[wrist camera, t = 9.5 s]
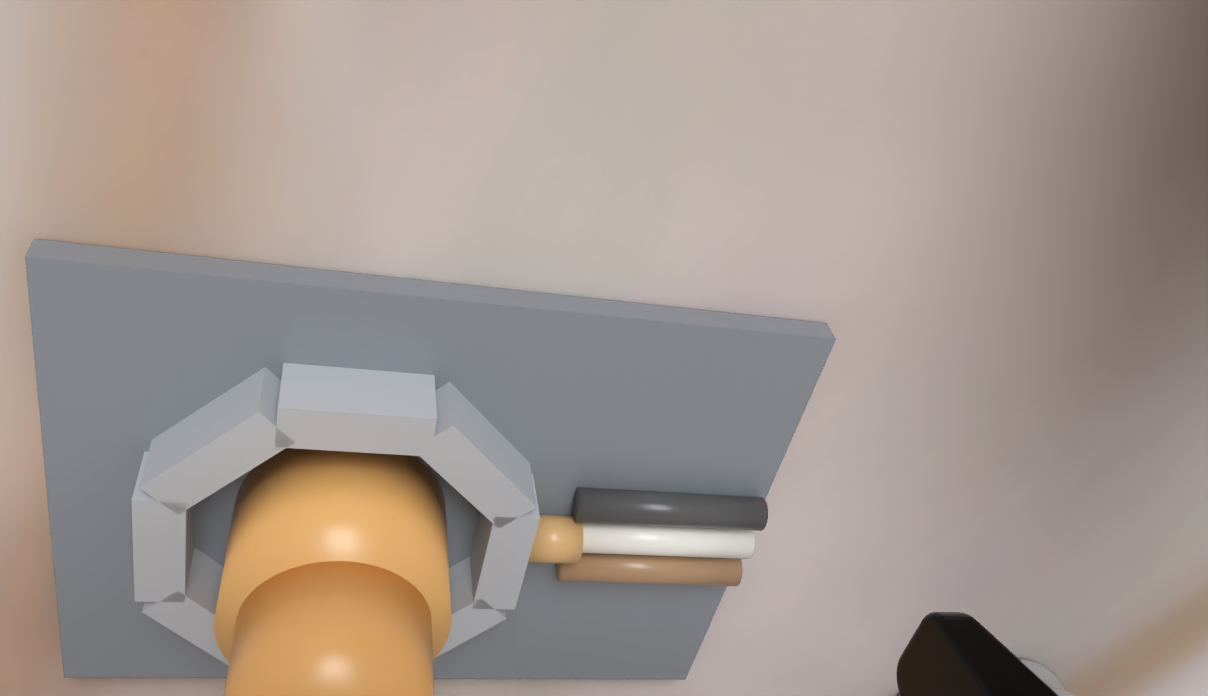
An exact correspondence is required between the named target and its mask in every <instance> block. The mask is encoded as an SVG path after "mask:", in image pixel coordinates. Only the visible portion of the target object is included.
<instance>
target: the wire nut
mask: <svg viewBox="0 0 1208 696" xmlns="http://www.w3.org/2000/svg"><path fill="white" fill-rule="evenodd" d="M451 619H452V618H451V599H450V580H449V561H448V541H447V522H446V506H445V498H444V494H443V491H442V488H441V486H440V484H439V482H438V480H437V479H436V477H435V476H434V475H433V473H432V472H431V471H430V470H429V469H428V468H427V467H426V466H425V464H424V463H422V462H421V461H420V460H418V459H417V458H416V457H415V456H410V455H394V454H377V453H361V452H344V451H328V450H312V449H295V448H286V449H284V450H282V451H281V452H279V453H277V454H276V455H274V456H273V457H271V458H269V459H268V460H266V461H264V462H263V463H261V464H260V465H258V466H256V467H255V468H253V469H252V470H251V471H250V472H249V474H248V475H247V476H246V478H245V479H244V480H243V482H242V484H241V486H240V488H239V490H238V493H237V497H236V500H235V506H234V511H233V517H232V522H231V528H230V534H229V539H228V545H227V550H226V556H225V562H224V567H223V573H222V578H221V584H220V590H219V595H218V601H217V606H216V612H215V619H214V633H215V638H216V641H217V644H218V647H219V649H220V651H221V652H222V654H223V656H224V657H225V658H226V660H227V661H228V662H229V668H228V674H227V681H226V687H225V694H224V696H434V677H433V660H434V659H435V658H436V657H437V655H438V654H439V653H440V651H441V650H442V648H443V647H444V645H445V643H446V641H447V639H448V636H449V632H450V629H451Z"/></svg>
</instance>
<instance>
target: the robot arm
mask: <svg viewBox="0 0 1208 696" xmlns="http://www.w3.org/2000/svg"><path fill="white" fill-rule="evenodd" d="M897 683H898V689H899V694H900V696H1059V695H1058V694H1056V693H1055V692H1054V691H1053V690H1052V689H1051V688H1050V687H1049V686H1048V685H1047V684H1046V683H1044V682H1043V681H1042V680H1041V679H1040V678H1039V677H1038V676H1037V675H1036V674H1035V673H1033V672H1032V671H1031V670H1030V669H1029V668H1028V667H1027V666H1026V665H1025V664H1024V663H1023V662H1021V661H1020V660H1019V659H1018V658H1017V657H1016V656H1015V655H1014V654H1013V653H1012V652H1010V651H1009V650H1008V649H1007V648H1006V647H1005V646H1004V645H1003V644H1002V643H1001V642H1000V641H998V640H997V639H996V638H995V637H994V636H993V635H992V634H991V633H990V632H989V631H988V630H986V629H985V628H984V627H983V626H982V625H981V624H980V623H979V622H978V621H977V620H975V619H974V618H973V617H971V616H969V615H967V614H965V613H959V612H933V613H930V614H928V615H927V616H926V617H925V618H924V619H923V620H922V622H921V624H920V625H919V627H918V629H917V630H916V632H915V634H914V635H913V637H912V639H911V640H910V642H909V644H908V645H907V647H906V649H905V650H904V652H903V654H902V655H901V657H900V659H899V662H898V666H897Z"/></svg>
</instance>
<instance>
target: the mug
mask: <svg viewBox="0 0 1208 696" xmlns="http://www.w3.org/2000/svg"><path fill="white" fill-rule="evenodd" d="M1019 660H1020V661H1021V662H1023V663H1024V664H1025V665H1026V666H1027V667H1028V668H1029V669H1030V670H1031V671H1032V672H1033V673H1035V674H1036V675H1037V676H1038V677H1039V678H1040V679H1041V680H1042V681H1043V682H1044V683H1046V684H1047V685H1048V686H1049V687H1050V688H1051V689H1052V690H1053V691H1054V692H1055V693H1056V694H1058V695H1059V696H1076V695H1074V694H1072V693H1070V692H1068V691H1066V689H1065V688H1064V686H1063V684H1062V683H1061V681H1060V680H1059V678H1058V677H1057V676H1056V675H1055V674H1054V673H1053V672H1051V671H1050V670H1049V669H1047V668H1046V667H1045V666H1043V665H1042V664H1039V663H1037V662H1033V661H1029V660H1025V659H1019ZM899 696H900V694H899Z"/></svg>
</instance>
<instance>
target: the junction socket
mask: <svg viewBox="0 0 1208 696" xmlns="http://www.w3.org/2000/svg"><path fill="white" fill-rule="evenodd" d="M25 259H26V270H27V281H28V292H29V302H30V313H31V324H32V335H33V346H34V357H35V367H36V378H37V389H38V400H39V411H40V421H41V432H42V443H43V454H44V465H45V476H46V486H47V497H48V508H49V519H50V530H51V541H52V551H53V562H54V573H55V584H56V595H57V605H58V616H59V627H60V638H61V649H62V660H63V670H64V678H227V674H228V668H229V662H228V661H227V660H226V658H225V657H224V656H223V654H222V652H221V651H220V649H219V647H218V644H217V641H216V638H215V633H214V619H215V612H216V606H217V601H218V595H219V590H220V584H221V578H222V573H223V567H224V562H225V556H226V550H227V545H228V539H229V534H230V528H231V522H232V517H233V511H234V506H235V500H236V497H237V493H238V490H239V488H240V486H241V484H242V482H243V480H244V479H245V478H246V476H247V475H248V474H249V472H250V471H251V470H252V469H253V468H255V467H256V466H258V465H260V464H261V463H263V462H264V461H266V460H268V459H269V458H271V457H273V456H274V455H276V454H277V453H279V452H281V451H282V450H284V449H286V448H295V449H312V450H328V451H344V452H361V453H377V454H394V455H410V456H415V457H416V458H417V459H418V460H420V461H421V462H422V463H424V464H425V466H426V467H427V468H428V469H429V470H430V471H431V472H432V473H433V475H434V476H435V477H436V479H437V480H438V482H439V484H440V486H441V488H442V491H443V494H444V498H445V506H446V522H447V541H448V561H449V580H450V599H451V618H452V619H451V629H450V632H449V636H448V639H447V641H446V643H445V645H444V647H443V648H442V650H441V651H440V653H439V654H438V655H437V657H436V658H435V659H434V660H433V677H434V679H680V680H685V679H686V677H687V675H688V672H689V670H690V668H691V666H692V663H693V661H694V659H695V656H696V654H697V652H698V650H699V647H700V645H701V643H702V641H703V638H704V636H705V634H706V632H707V629H708V627H709V625H710V623H711V620H712V618H713V616H714V614H715V611H716V609H717V607H718V604H719V602H720V600H721V598H722V595H723V593H724V591H725V589H726V586H738V585H739V583H740V581H741V578H742V562H741V559H750V558H751V557H752V555H753V552H754V547H755V537H754V533H753V530H758V531H761V530H763V529H764V528H765V526H766V523H767V519H768V508H767V503H766V501H765V498H766V496H767V494H768V491H769V489H770V487H771V485H772V482H773V480H774V478H775V476H776V473H777V471H778V469H779V467H780V464H781V462H782V460H783V457H784V455H785V453H786V451H787V448H788V446H789V444H790V442H791V439H792V437H793V435H794V433H795V430H796V428H797V426H798V424H799V421H800V419H801V417H802V415H803V412H804V410H805V408H806V405H807V403H808V401H809V399H810V396H811V394H812V392H813V390H814V387H815V385H816V383H817V381H818V378H819V376H820V374H821V372H822V369H823V367H824V365H825V362H826V360H827V358H828V356H829V353H830V351H831V349H832V347H833V344H834V342H835V340H836V338H835V337H834V335H833V333H832V331H831V330H830V328H829V326H828V325H827V323H820V322H811V321H801V320H792V319H783V318H773V317H764V316H754V315H745V314H736V313H726V312H717V311H707V310H698V309H689V308H679V307H670V306H660V305H651V304H642V303H632V302H623V301H613V300H604V299H595V298H585V297H576V296H566V295H557V294H548V293H538V292H529V291H519V290H510V289H501V288H491V287H482V286H472V285H463V284H454V283H444V282H435V281H425V280H416V279H407V278H397V277H388V276H378V275H369V274H360V273H350V272H341V271H331V270H322V269H313V268H303V267H294V266H284V265H275V264H266V263H256V262H247V261H237V260H228V259H219V258H209V257H200V256H190V255H181V254H172V253H162V252H153V251H143V250H134V249H124V248H115V247H106V246H96V245H87V244H77V243H68V242H59V241H49V240H40V239H34V240H33V242H32V244H31V246H30V248H29V250H28V252H27V254H26V256H25Z"/></svg>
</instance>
